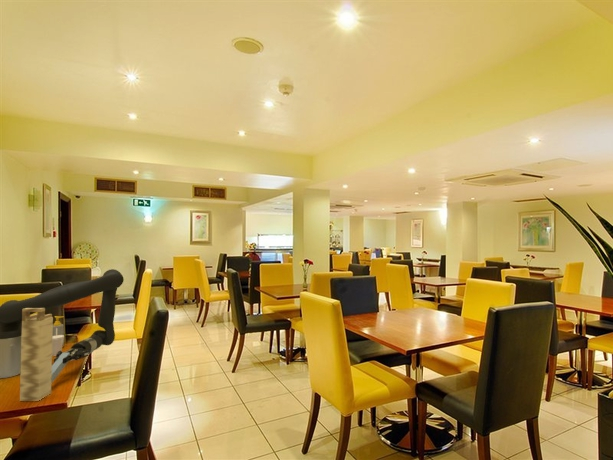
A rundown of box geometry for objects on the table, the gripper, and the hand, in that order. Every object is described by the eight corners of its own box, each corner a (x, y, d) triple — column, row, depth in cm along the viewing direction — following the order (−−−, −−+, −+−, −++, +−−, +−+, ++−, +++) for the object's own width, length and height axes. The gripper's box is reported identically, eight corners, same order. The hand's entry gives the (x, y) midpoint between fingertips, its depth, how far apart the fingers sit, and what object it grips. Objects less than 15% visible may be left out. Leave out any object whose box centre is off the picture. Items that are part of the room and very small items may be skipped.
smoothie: (61, 352, 184) (62, 326, 184) (65, 354, 180) (66, 328, 180) (47, 355, 179) (48, 328, 180) (50, 357, 175) (51, 330, 175)
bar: (42, 385, 137) (40, 379, 135) (64, 357, 150) (62, 352, 149) (50, 384, 137) (48, 379, 136) (71, 357, 150) (69, 352, 149)
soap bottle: (58, 350, 187) (59, 317, 188) (45, 350, 187) (46, 317, 187) (67, 346, 194) (68, 315, 194) (55, 346, 194) (55, 315, 194)
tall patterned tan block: (19, 401, 128) (22, 309, 129) (32, 393, 134) (35, 305, 135) (38, 401, 128) (41, 309, 129) (51, 393, 135) (53, 305, 136)
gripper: (69, 340, 161) (42, 352, 144) (99, 339, 162) (76, 352, 145) (68, 356, 161) (42, 370, 144) (99, 355, 162) (75, 369, 144)
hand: (59, 361), depth 144 cm, fingers closed on bar, 3 cm apart
